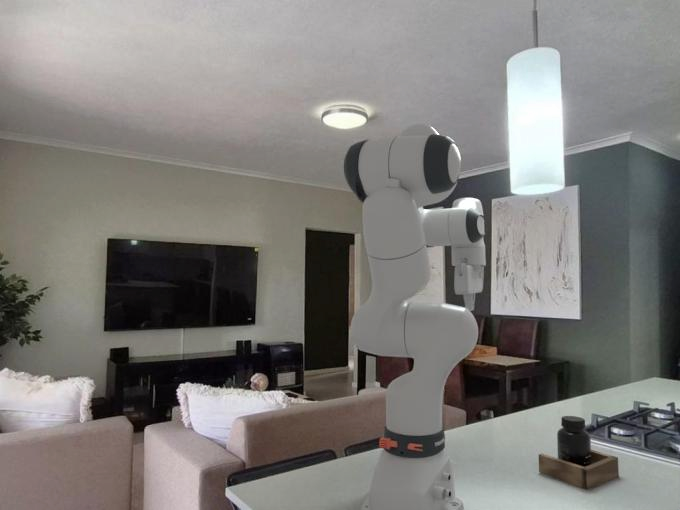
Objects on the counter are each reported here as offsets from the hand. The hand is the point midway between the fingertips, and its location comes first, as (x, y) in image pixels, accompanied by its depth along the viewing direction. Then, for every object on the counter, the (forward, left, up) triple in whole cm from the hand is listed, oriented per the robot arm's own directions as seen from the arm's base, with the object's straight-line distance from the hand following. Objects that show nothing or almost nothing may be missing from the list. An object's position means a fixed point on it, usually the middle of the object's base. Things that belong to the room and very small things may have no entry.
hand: (469, 310), depth 131 cm
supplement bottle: (-10, -24, -35) cm, 44 cm away
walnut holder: (-11, -25, -35) cm, 45 cm away
